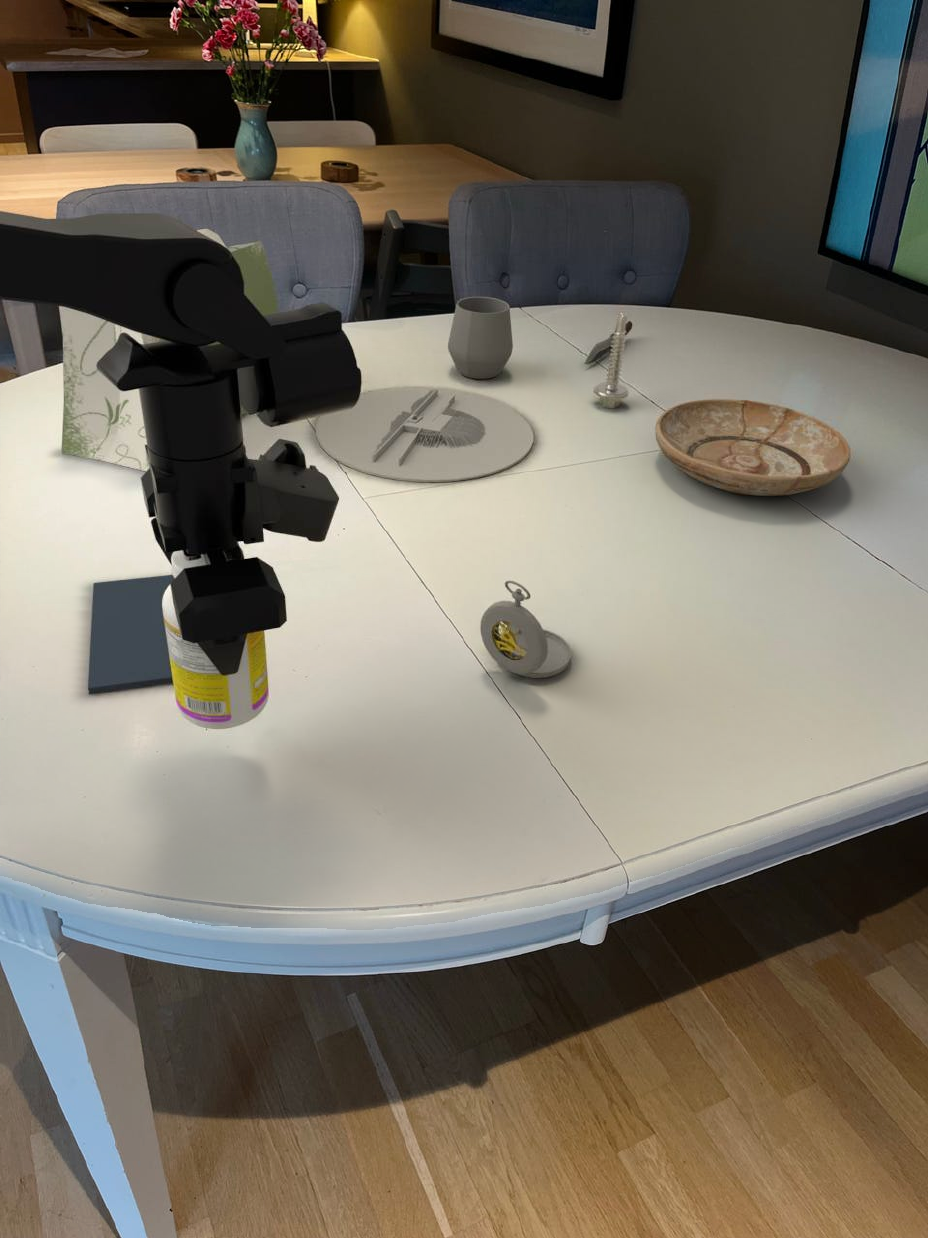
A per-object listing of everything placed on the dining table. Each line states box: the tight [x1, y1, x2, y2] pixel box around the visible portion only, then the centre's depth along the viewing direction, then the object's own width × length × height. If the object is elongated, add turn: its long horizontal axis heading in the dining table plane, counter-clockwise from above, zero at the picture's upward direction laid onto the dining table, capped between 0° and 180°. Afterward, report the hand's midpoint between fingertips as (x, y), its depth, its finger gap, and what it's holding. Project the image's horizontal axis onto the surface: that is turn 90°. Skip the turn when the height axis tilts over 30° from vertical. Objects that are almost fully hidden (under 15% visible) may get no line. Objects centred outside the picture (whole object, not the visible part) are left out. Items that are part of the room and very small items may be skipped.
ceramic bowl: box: [654, 398, 851, 497], centre depth 117 cm, size 23×24×5 cm
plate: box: [315, 387, 534, 483], centre depth 123 cm, size 28×28×1 cm
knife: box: [583, 320, 633, 365], centre depth 150 cm, size 18×2×3 cm, turn 150°
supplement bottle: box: [162, 546, 270, 730], centre depth 67 cm, size 7×7×13 cm
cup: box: [447, 296, 514, 380], centre depth 138 cm, size 10×9×10 cm
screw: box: [593, 311, 630, 409], centre depth 130 cm, size 13×5×5 cm
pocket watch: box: [479, 580, 572, 679], centre depth 82 cm, size 8×8×10 cm
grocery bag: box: [58, 228, 280, 472], centre depth 117 cm, size 32×14×23 cm, turn 159°
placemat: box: [87, 574, 175, 694], centre depth 86 cm, size 16×10×1 cm, turn 16°
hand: (220, 644), depth 67 cm, fingers closed on supplement bottle, 7 cm apart
